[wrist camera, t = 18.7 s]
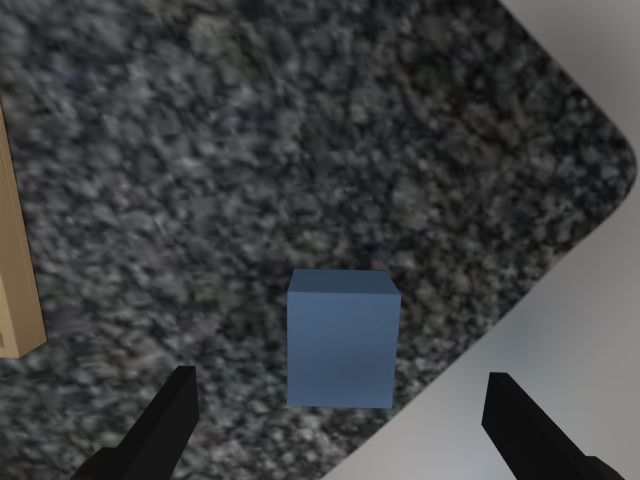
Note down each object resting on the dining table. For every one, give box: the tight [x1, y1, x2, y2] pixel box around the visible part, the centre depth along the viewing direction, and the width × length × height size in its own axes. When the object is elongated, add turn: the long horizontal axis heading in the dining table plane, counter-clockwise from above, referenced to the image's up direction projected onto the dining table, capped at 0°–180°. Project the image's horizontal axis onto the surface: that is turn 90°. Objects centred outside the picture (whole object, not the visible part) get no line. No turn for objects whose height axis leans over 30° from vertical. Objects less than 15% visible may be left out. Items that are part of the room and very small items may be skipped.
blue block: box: [287, 268, 401, 409], centre depth 18 cm, size 6×7×4 cm
